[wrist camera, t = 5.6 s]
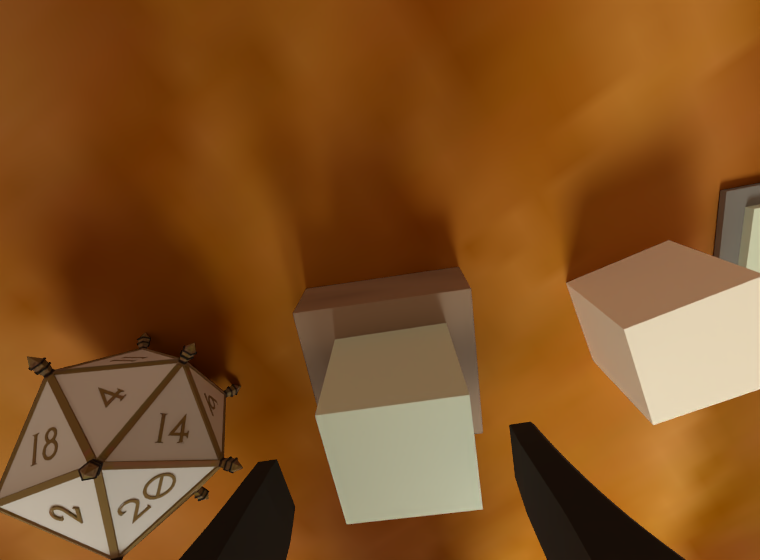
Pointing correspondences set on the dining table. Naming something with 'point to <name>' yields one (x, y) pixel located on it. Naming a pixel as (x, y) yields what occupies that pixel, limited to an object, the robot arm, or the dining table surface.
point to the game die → (116, 447)
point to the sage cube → (399, 426)
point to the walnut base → (389, 319)
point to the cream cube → (673, 328)
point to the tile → (739, 226)
